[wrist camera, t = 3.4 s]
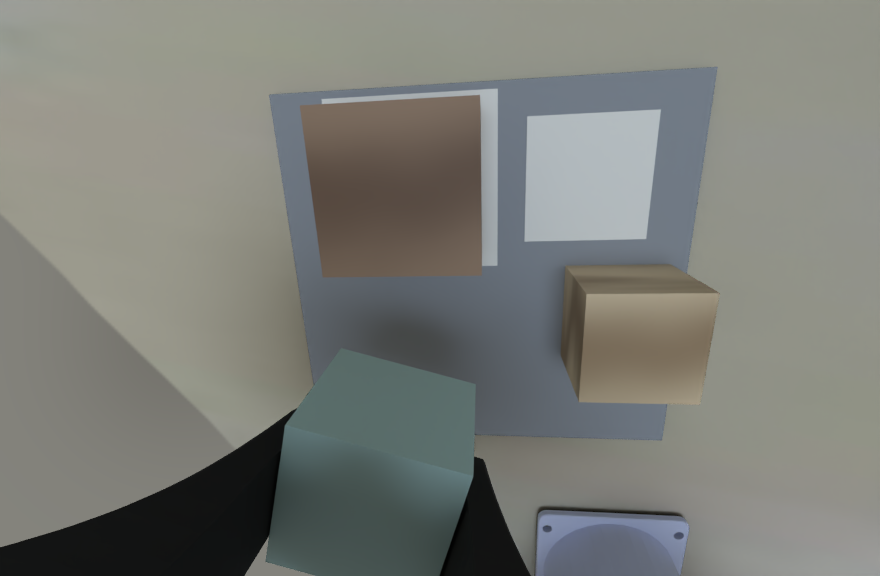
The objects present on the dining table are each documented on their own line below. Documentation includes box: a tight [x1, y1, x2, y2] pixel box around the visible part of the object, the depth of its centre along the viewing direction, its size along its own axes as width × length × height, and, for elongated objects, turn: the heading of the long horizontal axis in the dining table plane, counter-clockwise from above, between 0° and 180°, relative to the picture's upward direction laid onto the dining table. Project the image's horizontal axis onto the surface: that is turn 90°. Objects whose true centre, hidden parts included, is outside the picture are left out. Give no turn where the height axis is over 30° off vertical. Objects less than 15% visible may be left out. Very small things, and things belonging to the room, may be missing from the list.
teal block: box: [266, 348, 476, 576], centre depth 12 cm, size 4×4×4 cm
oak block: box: [561, 264, 720, 405], centre depth 17 cm, size 4×4×4 cm
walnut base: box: [300, 95, 482, 277], centre depth 16 cm, size 6×6×4 cm
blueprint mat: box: [269, 67, 717, 440], centre depth 19 cm, size 17×18×1 cm
